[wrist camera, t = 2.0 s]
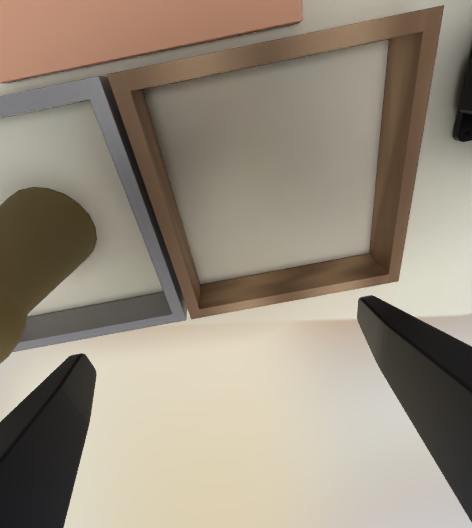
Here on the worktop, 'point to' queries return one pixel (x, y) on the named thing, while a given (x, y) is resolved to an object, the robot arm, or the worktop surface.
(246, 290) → the walnut bin
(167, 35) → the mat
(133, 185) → the charcoal bin
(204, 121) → the worktop surface
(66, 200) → the cork
